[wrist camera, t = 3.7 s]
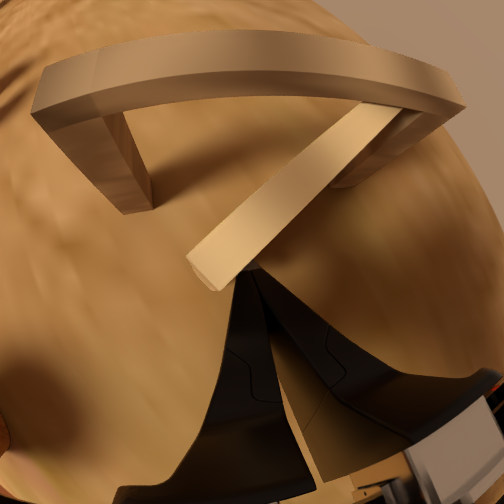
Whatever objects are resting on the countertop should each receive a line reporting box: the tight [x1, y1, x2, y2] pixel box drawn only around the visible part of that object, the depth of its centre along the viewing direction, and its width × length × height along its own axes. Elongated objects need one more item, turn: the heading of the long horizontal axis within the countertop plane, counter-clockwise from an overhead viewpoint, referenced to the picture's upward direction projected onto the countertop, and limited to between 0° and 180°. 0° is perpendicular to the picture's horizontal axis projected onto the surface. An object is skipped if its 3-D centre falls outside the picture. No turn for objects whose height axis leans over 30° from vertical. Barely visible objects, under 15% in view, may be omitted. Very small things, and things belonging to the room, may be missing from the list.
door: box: [186, 101, 404, 291], centre depth 13 cm, size 11×2×10 cm, turn 135°
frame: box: [30, 30, 467, 215], centre depth 12 cm, size 16×2×11 cm, turn 100°
